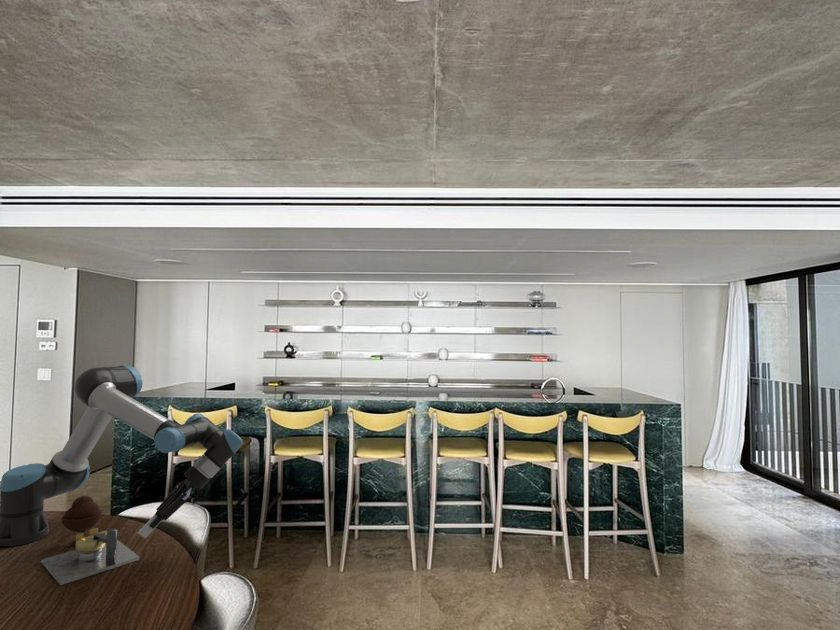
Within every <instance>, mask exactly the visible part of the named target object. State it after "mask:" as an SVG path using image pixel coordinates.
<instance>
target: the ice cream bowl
mask: <svg viewBox="0 0 840 630" xmlns="http://www.w3.org/2000/svg"><path fill="white" fill-rule="evenodd" d="M102 513H103V510H101V507H100V505H99V504H98V503H96V502H95V500H94V499H93V498H92V496H89V495H82V496H79V497H76V498H75V499H74V501H73V502H72V503H71V507H70V508H69V509H68V510H66V511H65V513H64V514H63V516H62V517H61V523H62V525H63V526H64V528H66V529H68V530H69V531H72V532H74V533H77V534H78V533H84V534H86V531H88V530H90V529H92V528H93V527H94V526H95V525H96V524H97V523H98V522H99V520H100V518H101V516H102ZM72 546H73V547H72ZM70 547H72V548H75V547H76V539H75V540H73V541H72V542H71V544H70Z"/></svg>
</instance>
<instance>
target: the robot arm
mask: <svg viewBox="0 0 840 630" xmlns="http://www.w3.org/2000/svg"><path fill="white" fill-rule="evenodd" d="M143 385H144V384H143V379H142V375H141V373H140V371H139V370H138V369H137V368H135V367H134V366H131V365H122V364H121V365H117V366H103V367H102V366H101V367H93V368H88V369H87V370H85V371H83V372H82V373H81V374H80V375H79V376H78V377H77V379H76V380H75V383H74V393H75V395H76V397H77V398H78V399H79V401H80V402H82V403H83V404H84V405H85V406H87V408H86V409H85V411H84V413H83V415H81V418H80V420H79V421H78V423H77V424H76V426H75V428H74V430H73V431H72V433H71V435H70V437H69V438H68V440H67V442H66V443H65V444H64V447H63V448H62V450H60V451H57V452H55V454H54V455H53V456H52V457H51V460H50V461H49V463H47V464H44V463H40V462H37V463H29V464H22V465H20V466H19V465H18V466H16V467H14V468H11V469H8V470H7V471H6V472H5V473H3V474H2V476H1V478H0V479H1V480H0V546H4V547H3V548H6V547H5V546H11V547H17V546H16V545H18V546H22V544H23V545H26V543H27V544H29V543H33V542H36V541H38V540H41V539H43V538H45V537H46V536H47V535H48V534H49V532H50V526H49V523H48V522H49V521H48V519H47V517H46V514H45V512H44V505H45V500H47V499H50V498H51V499H52V498H54V497H57V496H61V495H64V494H67V493H70V492H73V491H75V490H77V489H79V488H81V487H83V485H84V484H86V483H87V481H88V479H89V476H90V473H91V472H90V471H89V470H90V469H91V468H90V467H91V466H90V463H89V462H90V461H89V459H88V458H89V456H90V454H91V453H92V451H93V450H94V449H95V446H96V445H97V443H98V442H99V440H100V438H101V436H102V435H103V434H104V431H105V430H106V428H107V426H108V424H109V423H110V422H111V420H112V418H114V419H117V420H118V421H120V422H122V423H123V424H126V425H128V426H129V427H131V428H132V429H134V430H136V431H137V432H140V433H141V434H143V435H145V436H146V437H148V438H150V439H151V440H153V441H154V446H155V447H156V448H157V450H158V452H160V453H162V454H168V453H174V452H178V451H180V450H183V449H186V448H189V447H192V446H194V445H198V444H199V445H201V446H202V448H204V449H205V451H204V452H203V453H202V455H199V456H198V457H197V458H198V459H197V460H196V461H195V462H194V465H191V466H190V467H188V469H187V470H186V471H185V472H184V477H185V478H186V479H185V480H183V481H181V482H178V483H177V484H176V485H175V487H174V488H173V489H172V490H171V491H170V493H169V494H168V495H167V496H166V497H165V499H164V500H163V501H162V502H161V503H160V504H159V506H158V507H156V511H155V513H154V514H153V515H152V516H151V517H150V519H149V520H148V521H147V522H146V523H145V524H144V525H143V526H142V527H141V528H140V529H139V530H138V531H137V534H138V535H140V536H141V537H142V538H143V539H147V537H148V536H149V535H150V534H151V533H152V532H153V531H154V530H155V529H157V527H158V525H159V524H160V523H162V522H163V521H167V520H168V519H169V518H170V517H172V515H174V513H176V512H177V511H178V510H179V509H180V508H181V507H182V506H183V505H184V504H186V502H188V501H190V500H191V498H192V496H191V495H192V494H193V492H194V491H195V489H196V488H198V489H203V488H204V487H205V486H206V485H207V484H208V482H209V481H210V479H212V478H214V476H216V474H217V473H218V472H220V470H221V469H222V468H223V466H224V465H225V464H226V463H227V462H228V461H229V460H230V459H231V458H232V457H234V454H235V455H236V452H237V451H239V449H240V448H241V446H243V443H244V441H243V439H242V438H241V437H240V436H239V435H238V434H237V433H235V432H234V431H233V430H232V429H230V428H227V429H226V430H222V429H220V428H219V427H218V426H217V425H216V424H215V423H213V422H212V421H211V420H210V419H209V418H208V417H206V416H205V415H204V414H202V413H199V412H197V413H194V414H193V415H190V416H189V417H188V418H187V419H186V421H184V423H183V424H179V423H177V422H175V421H173V420H171V419H170V418H168V417H166V416H164V415H162V414H161V413H159V412H158V411H155V410H154V409H152V408H150V407H148V406H147V405H145V404H143V403H142V402H139V401H138V400H136V399H134V397H135V396H137V395H139V394H140V392H141V391H142V389H143Z"/></svg>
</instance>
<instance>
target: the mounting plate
mask: <svg viewBox="0 0 840 630" xmlns="http://www.w3.org/2000/svg"><path fill="white" fill-rule="evenodd" d="M40 561H41V564H42V565H43V566H44V568H45V569H46V570H47V571H48V572H49V574H50V575H51V576H52V577H53V579H54V580H55V581H56V582H57V583H58V585H59V586H64V585H66V584H68V583H73V582H76V581H78V580H82V579H85V578H87V577H91V576H94V575H96V574H100V573H103V572H106V571H109V570H112V569H117V568H119V567H122V566H125V565H129V564H131V563H134V562H137V561H140V556H139V555H138V554H137V553H135V552H134V551H133V550H132V549H130V547H127V546H126V545H125V543H122V542H121V541H119V539H117V549H116V563H115V564H114V565H110V566H107V565H106V546H105V547H104V548H102V549H100V550H97V551H94V552H88V553H78V552H76V551H75V549H74V550H70V551H67V552H63V553H60V554H57V555H56V554H55V555H53V556H49V557H45V558H42V559H41V560H40Z"/></svg>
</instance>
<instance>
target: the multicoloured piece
mask: <svg viewBox="0 0 840 630" xmlns="http://www.w3.org/2000/svg"><path fill="white" fill-rule="evenodd" d="M75 540H76V547H74V548H75V549H74V550H75V551H76V552H78V553H88V552H94V551H97V550H100V549H102V548H104V547H105V546H106V565H107V566H110V565H114V564H115V563H116V549H117V540H118V529H117V528H110V529H108V530H102V531H99V527H96V528H93V527H92V528H90V529H89V532H88V533H85V534H84V533H78V532H77V534H76V535H75Z"/></svg>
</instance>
